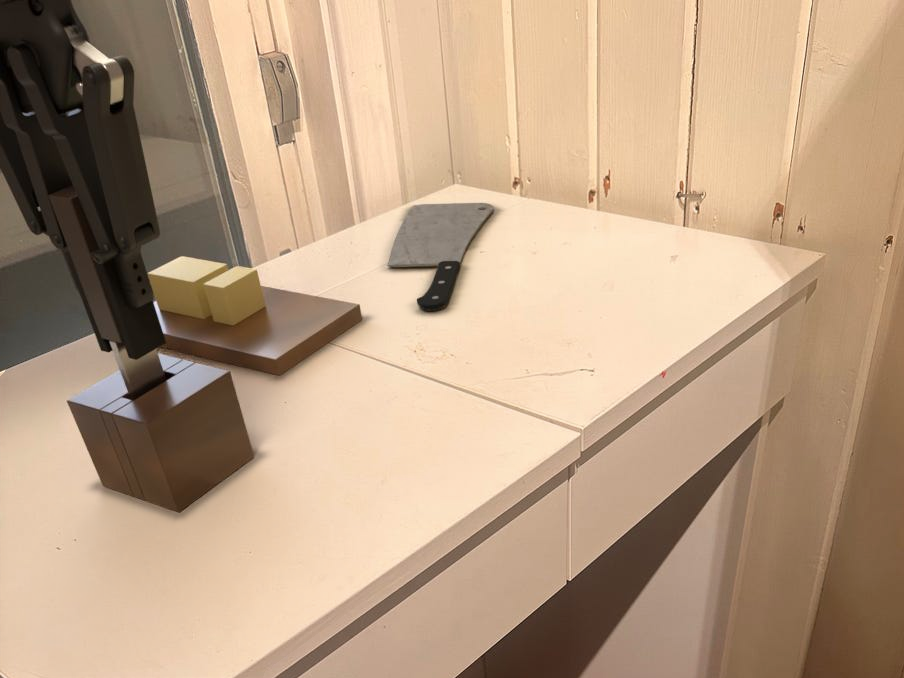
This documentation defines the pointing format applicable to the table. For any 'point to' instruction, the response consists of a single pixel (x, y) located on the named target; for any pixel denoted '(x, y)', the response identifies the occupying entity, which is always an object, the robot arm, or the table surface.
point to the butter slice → (234, 295)
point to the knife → (102, 294)
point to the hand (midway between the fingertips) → (133, 346)
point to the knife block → (164, 433)
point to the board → (263, 331)
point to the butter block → (185, 285)
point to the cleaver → (437, 243)
